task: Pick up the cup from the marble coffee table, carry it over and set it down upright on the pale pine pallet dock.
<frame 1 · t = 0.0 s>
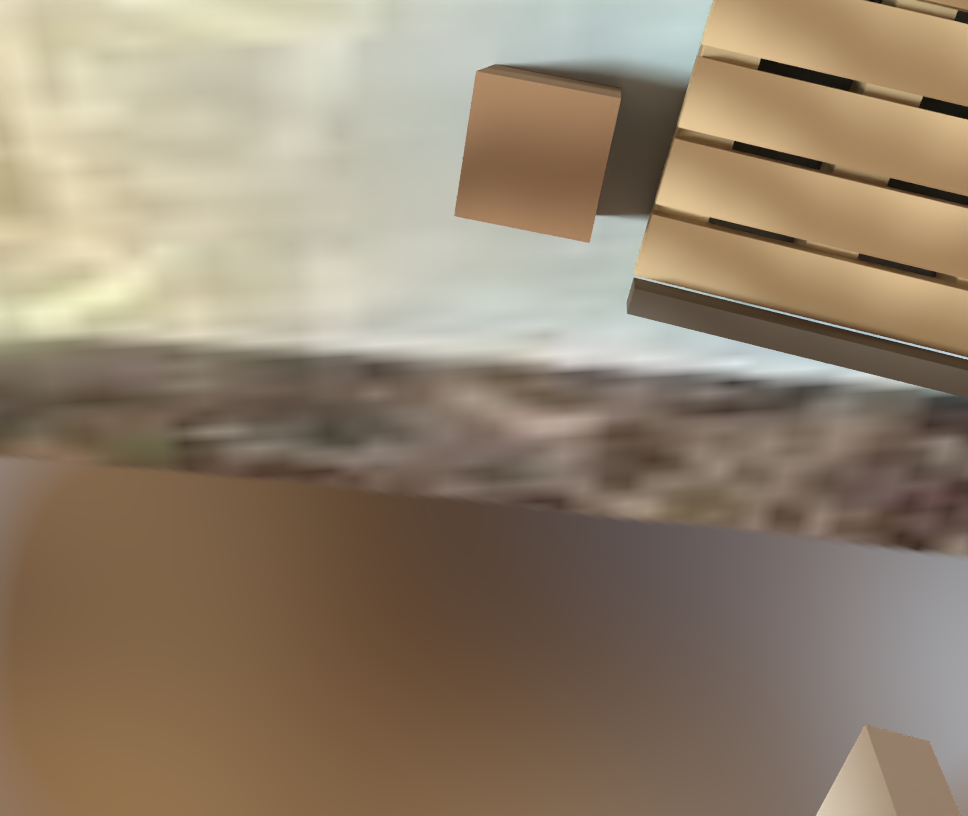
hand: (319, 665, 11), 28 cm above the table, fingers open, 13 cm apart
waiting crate: (545, 141, 35), on the table
pallet dock: (862, 129, 33), on the table
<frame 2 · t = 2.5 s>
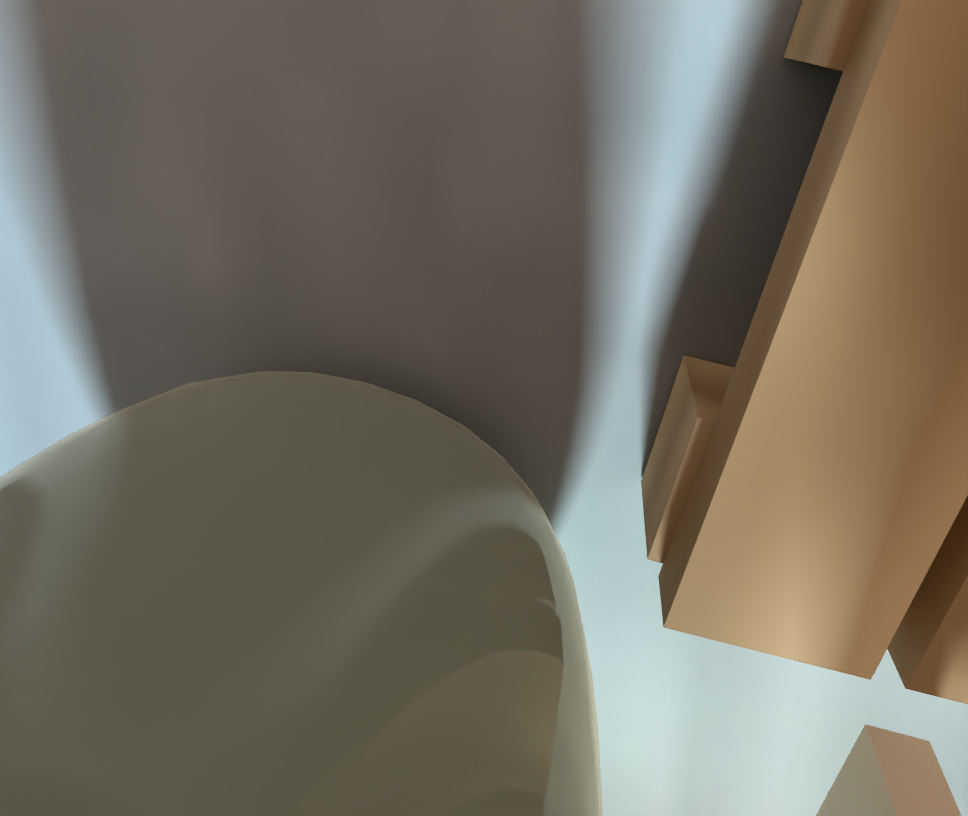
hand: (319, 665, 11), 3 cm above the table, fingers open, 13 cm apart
cup: (354, 530, 14), on the table
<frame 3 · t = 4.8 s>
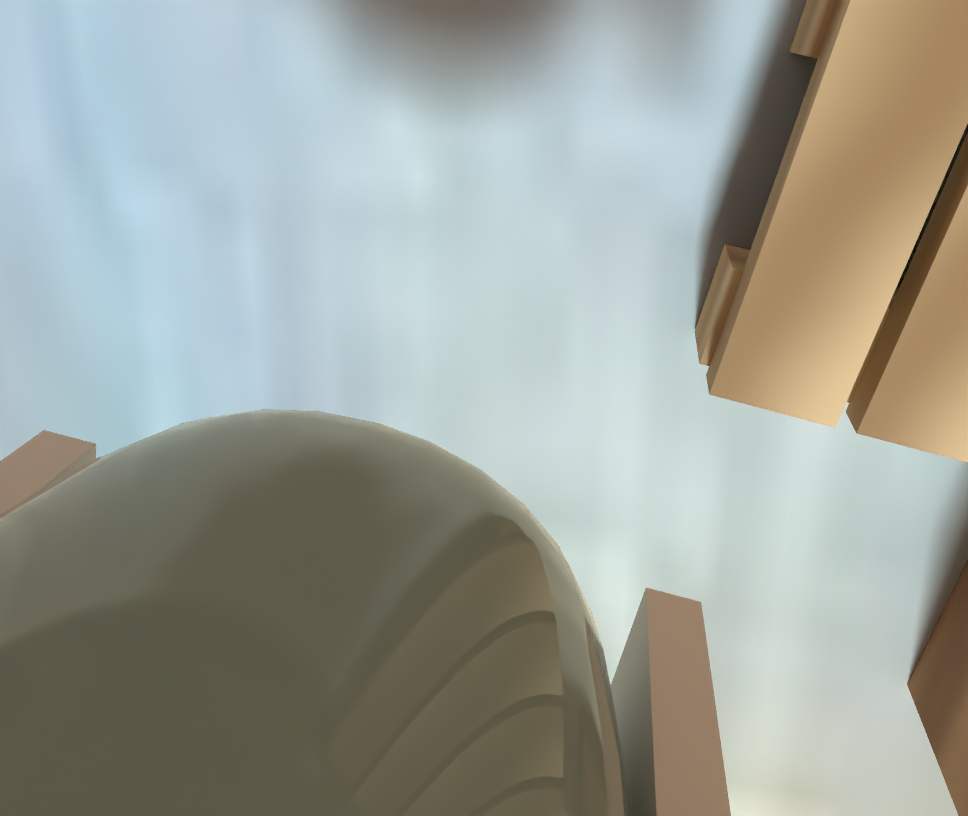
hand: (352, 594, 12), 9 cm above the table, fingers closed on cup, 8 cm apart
cup: (362, 573, 13), point 8 cm above the table, touching gripper
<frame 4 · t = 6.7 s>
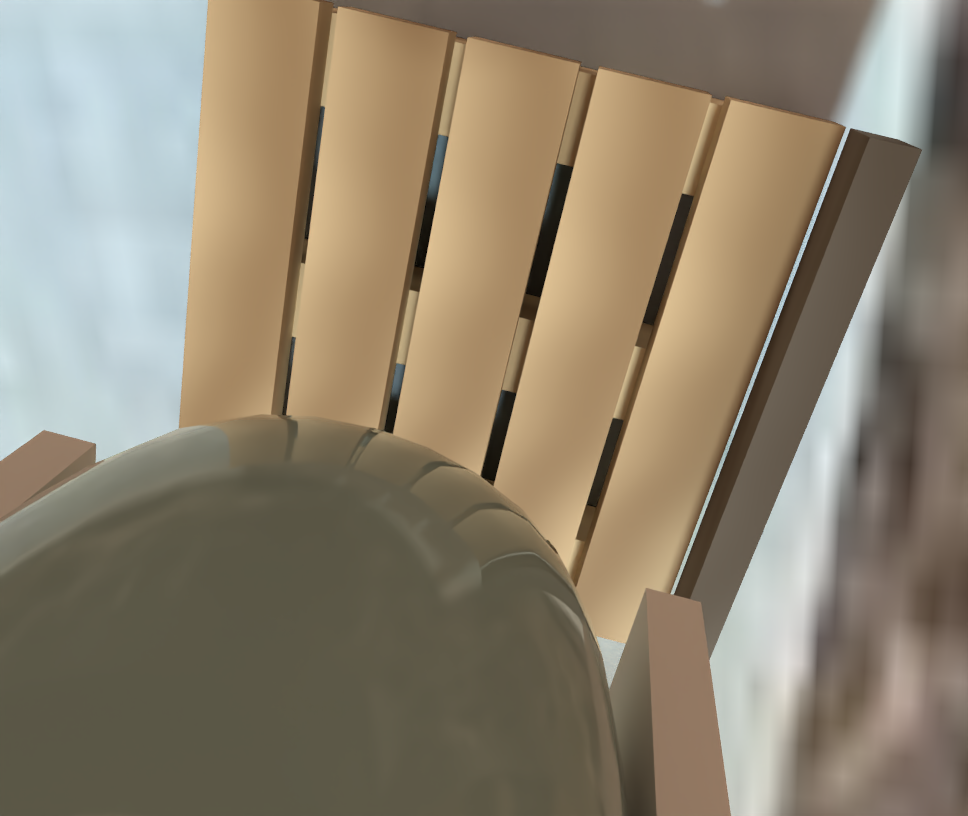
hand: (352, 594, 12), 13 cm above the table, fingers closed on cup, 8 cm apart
pallet dock: (475, 317, 24), on the table
cup: (360, 578, 13), point 12 cm above the table, touching gripper
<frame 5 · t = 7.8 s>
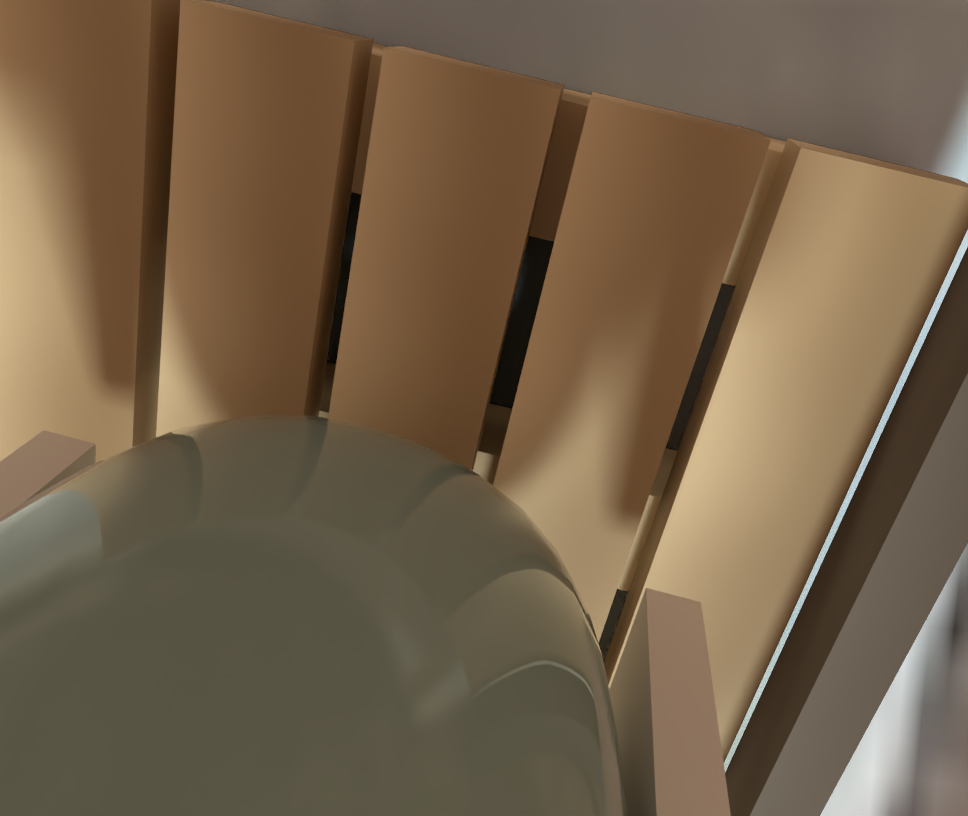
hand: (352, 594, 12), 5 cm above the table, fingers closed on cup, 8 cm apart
pallet dock: (422, 434, 17), on the table
cup: (360, 578, 13), point 5 cm above the table, touching gripper
when the fingers open (4 cm above the table, at t = 8.9 s): cup stays where it is, resting on pallet dock.
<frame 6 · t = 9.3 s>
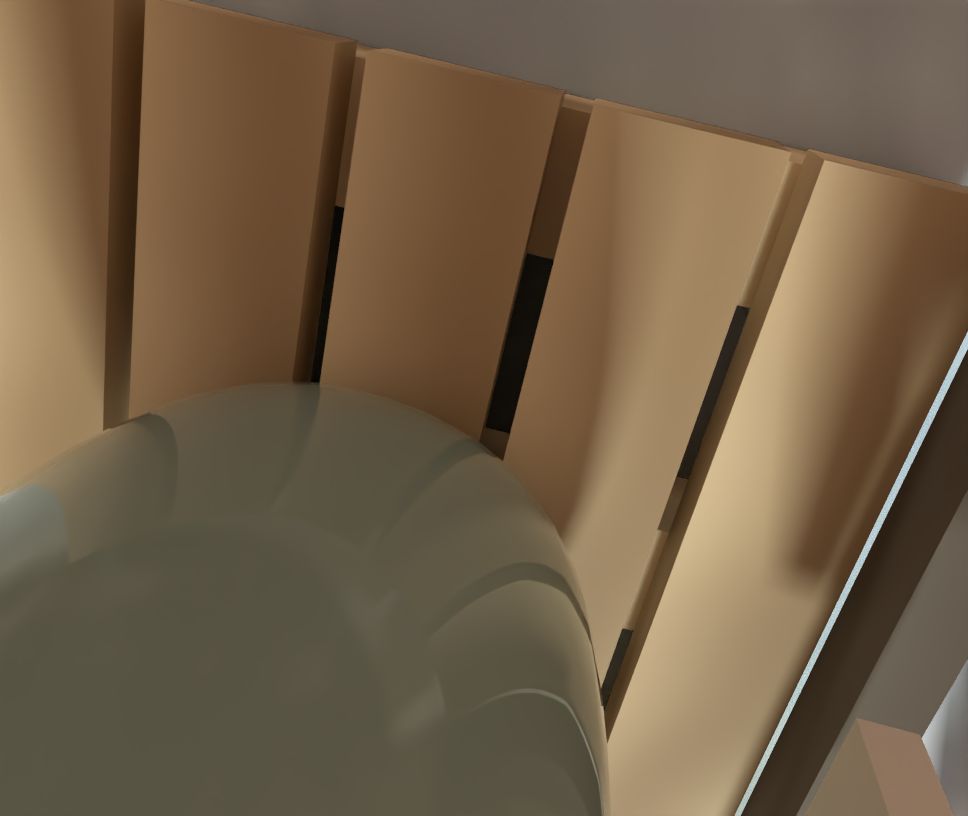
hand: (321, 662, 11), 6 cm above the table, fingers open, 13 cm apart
pallet dock: (414, 459, 16), on the table
cup: (362, 541, 14), point 3 cm above the table, touching pallet dock
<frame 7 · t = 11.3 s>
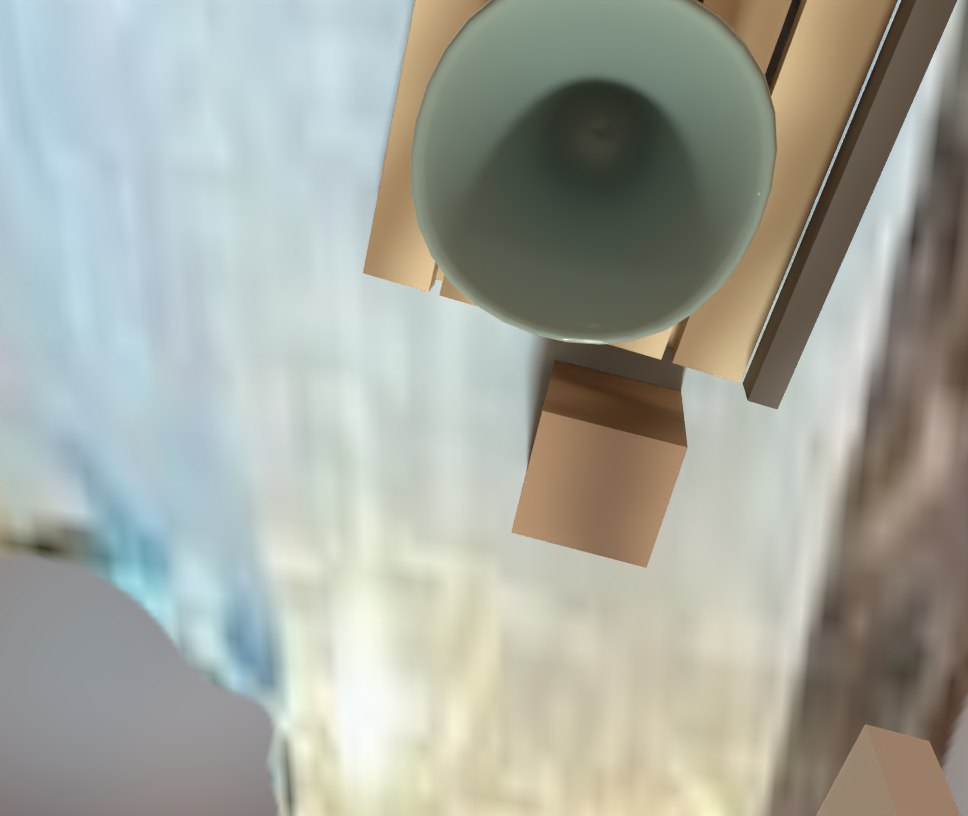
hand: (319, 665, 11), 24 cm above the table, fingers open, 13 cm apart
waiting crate: (601, 430, 35), on the table
pallet dock: (612, 114, 30), on the table
cup: (603, 122, 28), point 3 cm above the table, touching pallet dock
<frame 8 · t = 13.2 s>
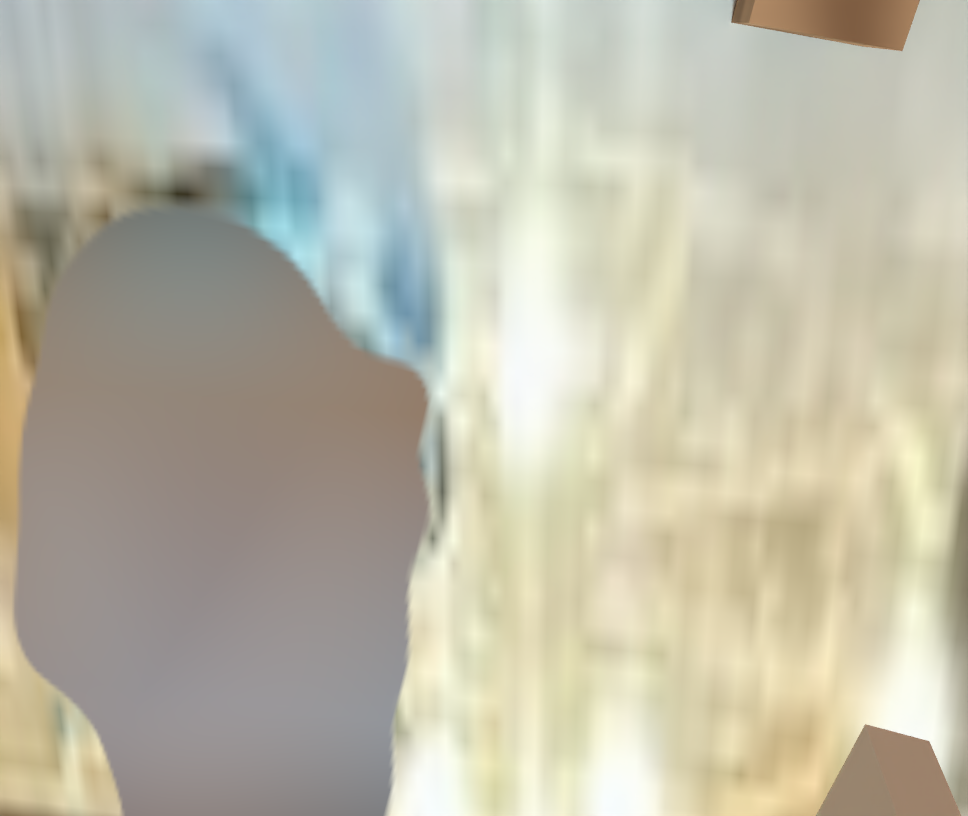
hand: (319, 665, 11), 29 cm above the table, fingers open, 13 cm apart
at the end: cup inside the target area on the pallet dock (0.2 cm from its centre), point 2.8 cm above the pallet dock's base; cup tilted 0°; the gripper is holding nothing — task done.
